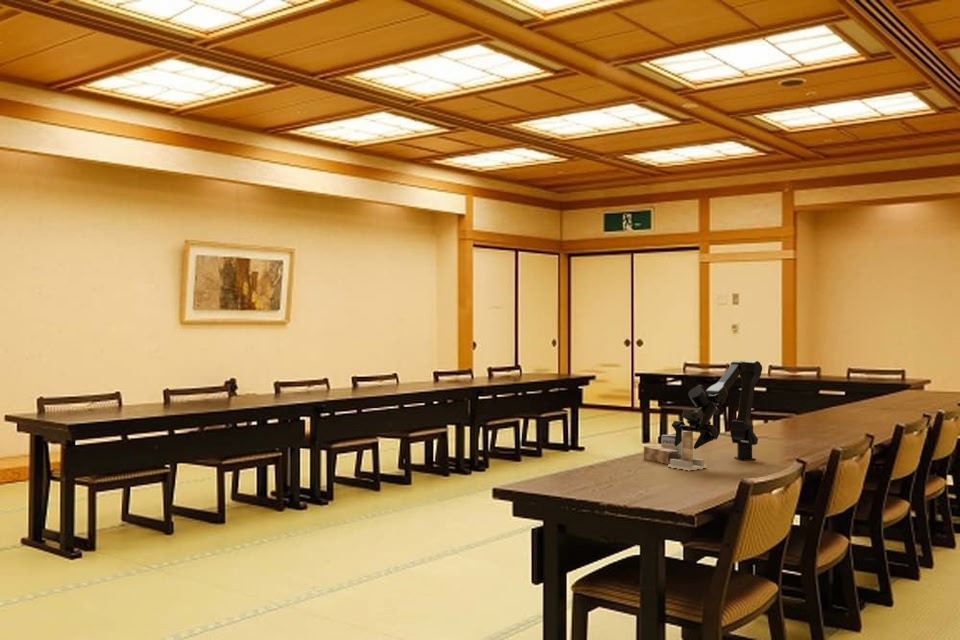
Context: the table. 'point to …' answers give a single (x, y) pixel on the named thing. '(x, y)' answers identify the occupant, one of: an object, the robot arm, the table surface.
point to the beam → (660, 454)
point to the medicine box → (671, 443)
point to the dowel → (687, 446)
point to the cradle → (687, 464)
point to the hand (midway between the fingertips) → (684, 446)
